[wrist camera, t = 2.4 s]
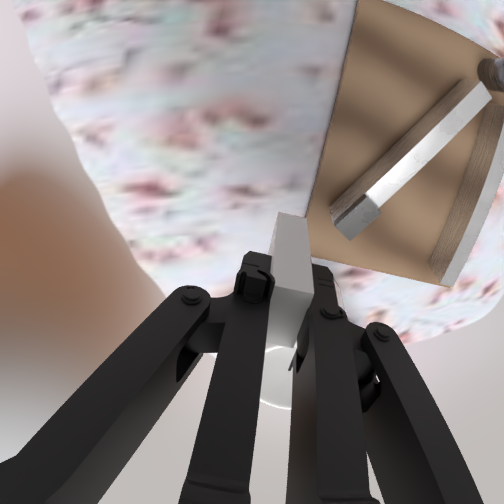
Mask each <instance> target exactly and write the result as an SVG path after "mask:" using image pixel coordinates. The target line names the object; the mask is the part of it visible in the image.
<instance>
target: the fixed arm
mask: <svg viewBox="0 0 504 504" xmlns="http://www.w3.org/2000/svg"><path fill="white" fill-rule="evenodd" d="M477 74H478V78H479V80H480V81H481V82H482V83H483V85H484V86H485V88H486V89H488V90H490V91H496V92H502V93H504V58H485V59H482V60H481V61H480V62H479V64H478V68H477ZM503 173H504V106H502V105H498V104H494V103H490V102H488V103H487V104H486V105H485V107H484V111H483V115H482V118H481V122H480V126H479V129H478V133H477V136H476V140H475V143H474V146H473V149H472V153H471V156H470V159H469V162H468V165H467V168H466V171H465V174H464V177H463V179H462V182H461V185H460V188H459V190H458V193H457V196H456V198H455V201H454V203H453V206H452V208H451V211H450V213H449V216H448V218H447V221H446V223H445V225H444V228H443V230H442V232H441V235H440V237H439V239H438V241H437V244H436V246H435V248H434V250H433V252H432V255H431V257H430V259H429V261H428V265H429V266H430V268H431V270H432V271H433V273H434V275H435V276H436V278H437V280H438V281H439V283H440V284H443V285H447V286H452V287H453V286H454V284H455V282H456V280H457V278H458V276H459V274H460V272H461V271H462V269H463V267H464V265H465V263H466V261H467V259H468V257H469V255H470V253H471V251H472V249H473V246H474V244H475V242H476V240H477V238H478V236H479V233H480V231H481V229H482V227H483V224H484V222H485V220H486V217H487V215H488V213H489V210H490V208H491V205H492V203H493V200H494V198H495V195H496V193H497V190H498V187H499V184H500V182H501V179H502V176H503Z"/></svg>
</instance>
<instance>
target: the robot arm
mask: <svg viewBox="0 0 504 504" xmlns="http://www.w3.org/2000/svg"><path fill="white" fill-rule="evenodd" d="M296 340H297V349H296V351H295V354H294V356H293V358H292V361H291V363H290V366H289V368H288V371H291V369H292V367H293V377H292V404H291V426H290V445H289V463H288V477H287V493H286V504H380V502H379V501H378V500H377V499H375V498H373V497H372V496H371V494H370V490H369V477H368V464H367V454H368V456H369V459H370V462H371V465H372V468H373V470H374V474H375V476H376V479H377V482H378V485H379V488H380V491H381V494H382V497H383V500H384V503H385V504H484V503H483V501H482V499H481V496H480V494H479V492H478V489H477V487H476V485H475V482H474V480H473V478H472V476H471V473H470V471H469V469H468V467H467V465H466V462H465V460H464V458H463V456H462V454H461V452H460V450H459V448H458V446H457V443H456V441H455V439H454V438H453V436H452V433H451V432H450V429H449V428H448V425H447V423H446V421H445V420H444V418H443V416H442V414H441V412H440V410H439V408H438V406H437V404H436V403H435V400H434V399H433V397H432V395H431V393H430V391H429V389H428V388H427V386H426V384H425V382H424V380H423V379H422V377H421V375H420V373H419V371H418V370H417V368H416V366H415V364H414V363H413V361H412V359H411V357H410V356H409V354H408V352H407V350H406V349H405V347H404V345H403V344H402V342H401V340H400V339H399V337H398V335H397V334H396V332H395V331H394V330H393V329H392V328H391V327H389V326H388V325H386V324H383V323H379V322H373V323H370V324H369V325H367V327H366V329H364V328H362V327H359V326H357V325H355V324H353V323H351V322H349V321H348V319H347V315H346V313H345V311H344V310H343V309H342V308H341V307H340V306H338V300H337V294H336V289H335V283H334V278H333V274H332V272H331V271H330V270H329V268H328V267H325V266H321V265H316V264H312V263H311V254H310V244H309V234H308V225H307V218H303V217H299V216H295V215H290V214H286V213H281V212H278V216H277V220H276V224H275V228H274V232H273V236H272V240H271V245H270V249H269V253H268V255H266V254H262V253H257V252H253V251H249V252H248V253H247V254H245V255H244V257H243V261H242V265H241V269H240V270H239V271H238V273H237V276H236V281H235V286H234V291H233V292H232V293H231V294H230V295H228V296H225V297H219V298H211V297H210V294H209V293H208V292H207V291H206V290H204V289H202V288H201V287H197V286H189V285H186V286H182V287H179V288H177V289H176V290H174V291H173V292H172V293H171V294H170V295H169V296H168V297H167V298H166V299H165V300H164V301H163V302H162V303H161V304H160V305H159V306H158V307H157V308H156V309H155V310H154V311H153V312H152V313H151V314H150V315H149V316H148V317H147V318H146V319H145V320H144V321H143V322H142V323H141V324H140V325H139V326H138V327H137V328H136V329H135V330H134V331H133V332H132V333H131V335H130V336H128V338H127V339H126V340H125V341H124V342H123V343H122V344H121V345H120V346H119V347H118V348H117V349H116V350H115V351H114V352H113V353H112V354H111V355H110V356H109V357H108V358H107V359H106V360H105V361H104V362H103V363H102V364H101V365H100V366H99V367H98V368H97V369H96V370H95V371H94V373H93V374H92V375H91V376H90V377H89V378H88V379H87V380H86V381H85V382H84V383H83V384H82V385H81V386H80V387H79V388H78V389H77V390H76V391H75V392H74V393H73V395H72V396H71V397H70V398H69V399H68V400H67V401H66V402H65V403H64V404H63V405H62V406H61V407H60V408H59V409H58V410H57V412H56V413H55V414H54V415H53V416H52V417H51V418H50V419H49V420H48V421H47V422H46V423H45V424H44V425H43V427H42V428H41V429H40V430H39V431H38V432H37V433H36V434H35V435H34V436H33V437H32V439H31V440H30V441H29V442H28V443H27V444H26V445H25V446H24V447H23V448H22V450H21V451H20V452H19V453H18V454H17V455H16V456H14V457H12V458H10V459H8V460H6V461H4V462H2V463H0V504H97V503H98V502H99V500H100V499H101V498H102V497H103V495H104V494H105V493H106V491H107V490H108V488H109V487H110V486H111V484H112V483H113V482H114V480H115V479H116V478H117V476H118V475H119V473H120V472H121V471H122V469H123V468H124V466H125V465H126V464H127V462H128V461H129V460H130V458H131V457H132V455H133V454H134V453H135V451H136V450H137V448H138V447H139V446H140V444H141V443H142V441H143V440H144V439H145V437H146V436H147V434H148V433H149V431H150V430H151V429H152V427H153V426H154V425H155V423H156V422H157V420H158V419H159V417H160V416H161V415H162V413H163V412H164V410H165V409H166V408H167V406H168V405H169V403H170V402H171V401H172V399H173V398H174V396H175V395H176V393H177V392H178V390H179V389H180V388H181V386H182V385H183V383H184V382H185V380H186V379H187V378H188V376H189V375H190V373H191V372H192V370H193V369H194V368H195V366H196V365H197V363H198V362H199V360H200V359H201V357H202V356H203V353H218V354H217V358H216V361H215V365H214V369H213V374H212V377H211V381H210V385H209V389H208V393H207V397H206V401H205V405H204V409H203V413H202V417H201V421H200V425H199V429H198V432H197V436H196V440H195V444H194V448H193V452H192V456H191V460H190V465H189V468H188V472H187V476H186V479H185V482H184V484H183V487H182V491H181V495H180V499H179V503H178V504H250V503H251V497H250V493H249V482H250V474H251V467H252V459H253V451H254V443H255V435H256V427H257V418H258V410H259V401H260V393H261V384H262V375H263V366H264V357H265V348H266V343H268V344H273V345H278V346H283V347H289V348H294V345H295V343H296ZM376 375H377V377H378V379H379V381H380V382H378V380H377V378H376ZM366 451H367V453H366Z"/></svg>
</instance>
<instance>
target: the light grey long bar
mask: <svg viewBox="0 0 504 504" xmlns="http://www.w3.org/2000/svg"><path fill="white" fill-rule="evenodd" d="M491 99H492V97H491V95H490V94H489V92H488V91H487V89H486V88H485V86H484V85H483V83H482V82H481V81H476V80H465V79H462V80H461V81H460V82H459V83H458V84H457V85H456V86H455V87H454V88H452V89H451V90H450V91H449V92H448V93H447V94H446V95H445V96H444V97H443V98H442V99H441V100H440V101H439V102H438V103H437V104H436V105H435V106H434V107H433V108H432V109H431V110H430V111H429V112H428V113H427V114H426V115H425V116H424V117H423V118H422V119H421V120H420V121H419V122H418V123H417V124H416V125H415V126H414V127H412V128H411V129H410V130H409V131H408V132H407V133H406V134H405V135H404V136H403V137H402V138H401V139H400V140H399V141H398V142H397V143H396V144H395V145H394V146H393V147H392V148H391V149H390V150H389V151H387V152H386V153H385V154H384V155H383V156H382V157H381V158H380V159H379V160H378V161H377V162H376V163H375V164H374V165H373V166H372V167H371V168H370V169H369V170H367V171H366V172H365V173H364V174H363V175H362V176H361V177H360V178H359V179H358V180H357V181H356V182H355V183H354V184H353V185H352V186H351V187H349V188H348V189H347V190H346V191H345V192H344V193H343V194H342V195H341V196H340V197H339V198H338V199H337V200H336V201H335V202H333V203H332V204H331V205H330V206H329V211H330V215H331V218H332V222H333V224H334V226H335V227H336V228H337V229H338V230H339V231H340V232H341V233H342V234H343V235H344V236H345V237H346V238H347V239H348V240H349V241H351V240H352V239H353V238H354V237H355V236H356V235H358V234H359V233H360V232H361V231H362V230H363V229H364V228H366V227H367V226H368V225H369V224H370V223H371V222H372V221H373V220H375V219H376V218H377V217H378V216H379V215H380V214H381V211H380V209H379V207H380V206H381V205H383V204H384V203H385V202H386V201H387V200H388V199H389V198H390V197H391V196H392V195H393V194H395V193H396V192H397V191H398V190H399V189H400V188H401V187H402V186H403V185H404V184H405V183H406V182H407V181H409V180H410V179H411V178H412V177H413V176H414V175H415V174H416V173H417V172H418V171H419V170H420V169H421V168H422V167H423V166H424V165H425V164H427V163H428V162H429V161H430V160H431V159H432V158H433V157H434V156H435V155H436V154H437V153H438V152H439V151H440V150H441V149H442V148H443V147H444V146H445V145H446V144H447V143H448V142H449V141H450V140H451V139H452V138H453V137H454V136H455V135H456V134H457V133H458V132H459V131H460V130H461V129H462V128H463V127H464V126H465V125H466V124H467V123H468V122H469V121H470V120H471V119H472V118H473V117H474V116H475V115H476V114H477V113H478V112H479V111H480V110H481V109H482V108H483V107H484V106H485V105H486V104H487V103H488V102H489V101H490V100H491Z"/></svg>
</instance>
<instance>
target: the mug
mask: <svg viewBox="0 0 504 504" xmlns="http://www.w3.org/2000/svg"><path fill="white" fill-rule="evenodd" d="M334 283H335V289H336V294H337V300H338V306H340V307H341V308H342V309H343V310H344V306H343V300H342V296H341V292H340V289H339V287H338V285H337V283H336V282H335V280H334ZM296 349H297V340H296V343H295V345H294V348H289V347H283V346H278V345H273V344H268V343H266V348H265V357H264V366H263V375H262V384H261V393H260V401H261V402H263V403H265V404H268V405H270V406H273V407H277V408H281V409H288V410H291V404H292V377H293V367H292V369H291V371H288V368H289V366H290V363H291V361H292V358H293V356H294V354H295V351H296Z"/></svg>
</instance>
